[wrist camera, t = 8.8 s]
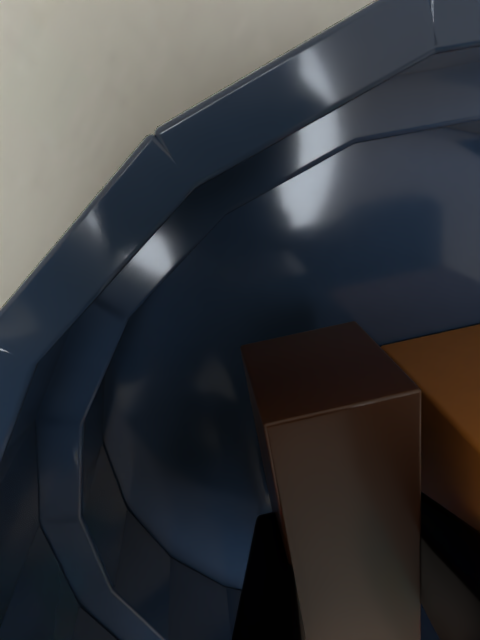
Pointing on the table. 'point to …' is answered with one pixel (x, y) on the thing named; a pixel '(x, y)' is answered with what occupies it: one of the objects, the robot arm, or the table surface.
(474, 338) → the block
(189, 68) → the table surface
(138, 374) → the bowl
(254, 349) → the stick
